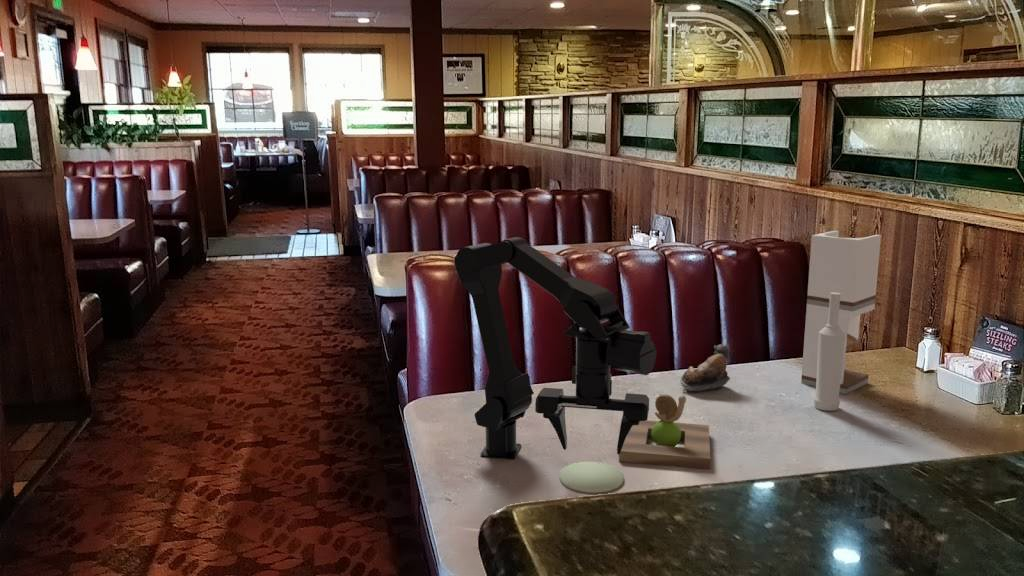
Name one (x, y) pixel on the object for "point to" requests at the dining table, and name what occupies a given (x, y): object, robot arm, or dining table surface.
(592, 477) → the felt coaster
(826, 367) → the bottle
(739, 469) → the dining table surface
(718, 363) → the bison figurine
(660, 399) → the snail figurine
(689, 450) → the frame
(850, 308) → the white tall stand
